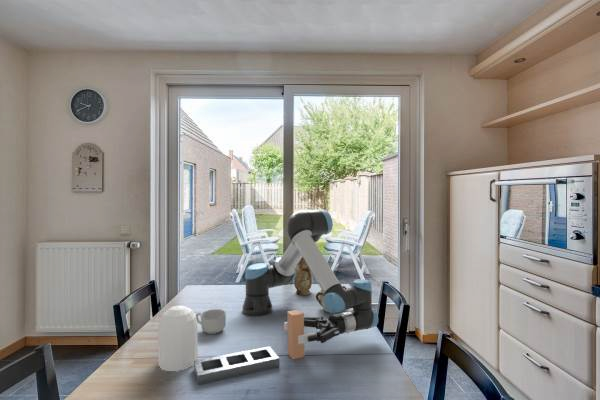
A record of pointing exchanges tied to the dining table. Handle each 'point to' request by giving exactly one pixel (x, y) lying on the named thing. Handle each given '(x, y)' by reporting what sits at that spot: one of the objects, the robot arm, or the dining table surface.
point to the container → (177, 339)
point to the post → (295, 333)
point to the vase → (302, 278)
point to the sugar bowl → (320, 297)
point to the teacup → (212, 320)
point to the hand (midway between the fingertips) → (291, 332)
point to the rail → (238, 369)
